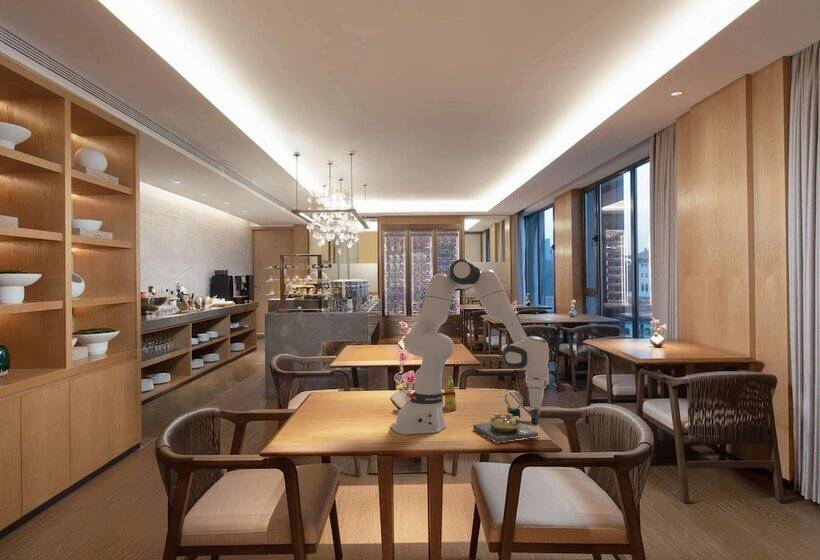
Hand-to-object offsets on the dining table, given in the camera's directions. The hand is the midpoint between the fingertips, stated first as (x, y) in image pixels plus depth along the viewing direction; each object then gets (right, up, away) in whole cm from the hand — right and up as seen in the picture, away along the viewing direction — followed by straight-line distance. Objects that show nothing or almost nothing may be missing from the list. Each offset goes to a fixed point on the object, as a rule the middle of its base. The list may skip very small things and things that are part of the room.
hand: (537, 414), depth 184 cm
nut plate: (-12, -8, +2) cm, 15 cm away
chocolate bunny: (-31, -8, +39) cm, 51 cm away
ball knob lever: (-9, -6, 0) cm, 11 cm away
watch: (-3, -8, +27) cm, 28 cm away
